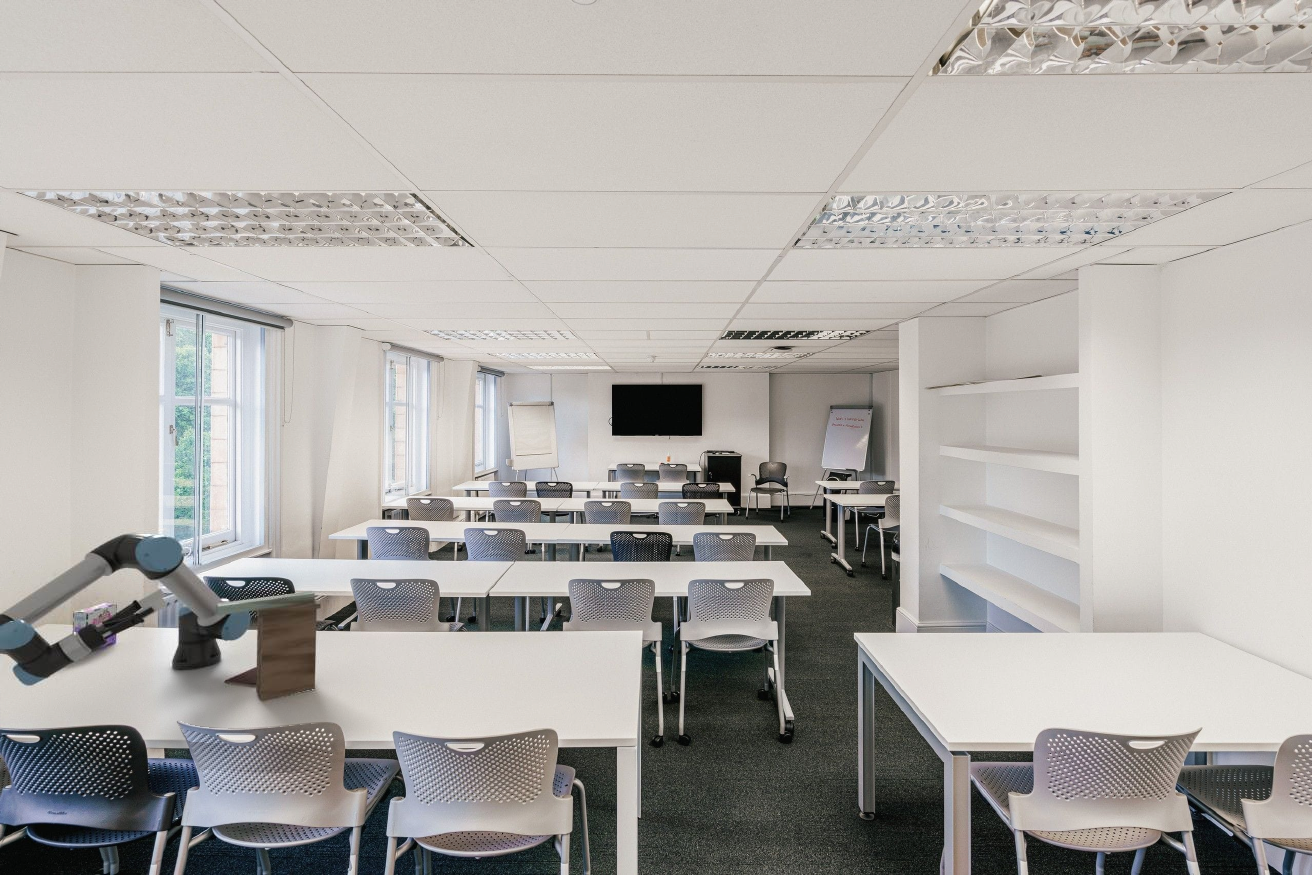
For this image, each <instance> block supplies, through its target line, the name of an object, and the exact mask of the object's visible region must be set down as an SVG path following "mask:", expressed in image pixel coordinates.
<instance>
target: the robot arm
mask: <svg viewBox="0 0 1312 875" xmlns="http://www.w3.org/2000/svg"><path fill="white" fill-rule="evenodd" d="M184 560H185V556H184V555H183V547H182V544H181V543H180V542H179V541H178V540H177V539H175V538H174V537H172V536H168V535H164V534H151V533H150V534H149V533H139V532H130V533H125V534H121V535H118V536H116V537H114V538H111V539H110V540H107V541H105V542H103V544H100V545H99V546H97V547H95V548H94V549H92V550H91V551H89V552H88V553H86V554H85V556H84V559H83V560H81V561H80V562H78V563H77V564H75V565H74V566H71V567H70V568H69V569H67V570H65V571H64V572H63V573H61V574H60V575H58V576H56V577H55V578H54V579H52V580H50V581H49V582H47V583H46V584H44V585H43V586H42V587H39V588H38V589H36V590H35V591H33V592H32V593H30V594H29V595H28V596H26V597H24V598H22V599H21V600H20V601H18V602H16V603H15V604H13V605H12V606H9V608H7V609H5V610H4V611H3V612H2V613H0V655H6V656H9V658H11V659H12V660H14V662H16V664H15V665H13V667H12V672H13V674H14V676H15V678H16V679H18V681H19V682H20V683H21V684H23V685H24V686H28V687H30V686H34V685H36V684H38V683H39V682H41V681H43V680H45V679H49V678H50V677H51V676H53V675H54V674H56V673H57V672H59V671H61V670H62V669H65V668H66V667H67V666H69V665H70V664H72V663H74V662H77V661H78V660H84V659H85V656H87V655H88V654H90V653H91V652H92V651H91V650H94V651H96V649H97V650H99V649H100V648H99V647H101V646H103V645H105V644H106V643H107V639H108V638H109V637H111V636H113V635H115V634H116V635H117V634H119V633H121V632H124V631H125V630H128V629H130V628H132V627H135V626H137V625H139V624H143V623H144V622H145V621H146V620H145V619H146V618H148V617H149V616H151V615H154V614H155V613H156V612H158V611H160V610H163V608H165V607H167V606H168V603H167V602H166V601H165V599H164V597H166V594H165V593H164V592H163V590H162V589H161V588H160V589H157V590H156V591H154V592H152V593H150V594H148V595H147V596H145V597H143V598H141V599H139V600H137V599H134V600H132V602H131V603H130V604H128V605H127V606H125V607H124V608H123V609H121V610H118V611H117V613H116V614H115V615H113V616H112V617H110V618H108V619H107V620H105V621H103V622H102V624H103V625H101V626H100V627H97V626H96V625H95V624H89V625H87V626H85V627H84V628H82V629H80V630H79V631H78V633H75V632H74V633H73V632H72V633H70V634H69V635H66V636H65V637H64V638H62V639H60V640H58V641H57V642H55V643H52V644H50V643H49V642H48V641H47V640H46V639H45V638H44V637H43V636H42V635H41V634H40V633H39V632H37V631H36V630H35V628H34V627H33V624H35V623H36V622H39V621H40V620H41V619H43V618H44V617H45V616H47V615H48V614H50V613H51V612H52V611H55V609H57V608H59V607H61V606H62V605H63V604H64V603H66V602H68V601H69V600H70V599H71V598H74V597H75V596H76V595H77V594H79V593H80V592H82V591H83V590H85V589H86V588H88V587H89V586H90V585H93V583H95V582H97V581H98V580H100V579H101V578H102V577H108V576H109V577H110V576H111V575H112V574H114V573H115V572H118V571H120V570H124V569H127V568H128V569H133V570H134V569H135V570H138V571H139V572H140V573H141V574H142V575H143V576H145V577H146V578H147V580H150V581H159V582H160V583H161V584H162V586H164V587H165V588H166V589H167V590H168V591H169V592H170V593H172V594H173V595H174V596H175V597H176V598H177V599H178V600H179V601H180V602H181V603H183V605H182V606H181V607H179V610H178V617H177V618H178V635H177V636H178V638H177V639H178V642H177V643H178V644H177V647H176V650H175V653H174V655H173V657H172V660H171V667H172V668H173V669H175V670H193V669H194V670H195V669H200V668H204V667H208V666H211V665H214V664H216V663H218V662H219V661H221V660H222V652H221V648H220V647H219V644H218V642H217V640H221V641H231V642H232V641H236V640H238V639H240V638H242V637H243V636H244V635H245V633H246V632H247V631H248V630H249V627H250V624H251V614H250V611H248V612H241V613H234V614H227V615H220V616H218V615H217V613H216V609H217V604H218V603H226V602H231V601H230V599H227V598H221V597H219V596H218V595H217V594H216V593H215V592H214V591H213V590H212V589H211V588H210V587H209V586H208V585H207V584H206V583H205V582H203V580H201V578H200V577H199V576H198V575H197V574H196V573H195V572H194V571H193V570H192V569H191V568H190V567H189V566H187V565H186V564H185V563H184ZM98 648H99V649H98Z"/></svg>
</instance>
